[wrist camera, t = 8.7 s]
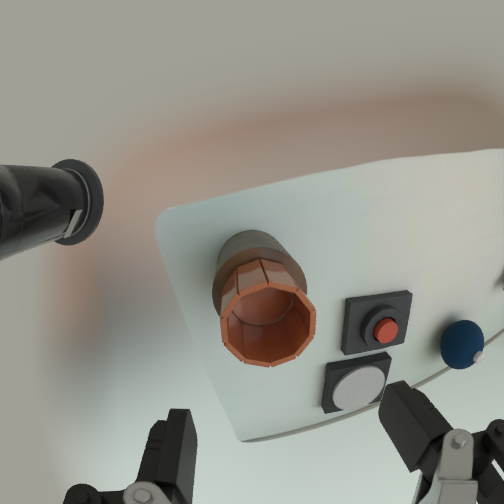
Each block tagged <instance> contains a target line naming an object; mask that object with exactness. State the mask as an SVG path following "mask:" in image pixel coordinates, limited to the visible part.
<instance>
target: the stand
mask: <svg viewBox="0 0 504 504" xmlns="http://www.w3.org/2000/svg"><path fill="white" fill-rule="evenodd" d="M261 259H263V260H266V261H270V262H274V263H278V264H282V265H283V266H285V267H286V269H287V270H288V271H289V272H290V274H291V275H292V276H293V277H294V279H295V280H296V281H297V282H298V284H299V285H300V287H301V288H302V290H303V291H304V293H305V294H306V295H307V284H306V279H305V276H304V273H303V271H302V269H301V268H300V266H299V265H298V264H297V262H296V261H295V260H294V259H293V258H292V257H291V256H290V254H289V253H288V252H287V251H286V250H285V249H284V248H283V247H282V245H281V244H280V243H279V242H278V241H277V240H276V239H275V238H274V237H272V236H271V235H269V234H267V233H265V232H262V231H256V230H249V231H244V232H240V233H238V234H236V235H234V236H233V237H231V238H230V239H229V240H228V241H227V242H226V243H225V244H224V246H223V248H222V249H221V252H220V254H219V258H218V263H217V268H216V273H215V278H214V283H213V289H212V298H213V303H214V306H215V309H216V311H217V313H218V315H219V316H220V313H221V302H222V292H223V287H224V285H225V283H226V282H227V280H228V279H229V277H230V276H231V274H232V273H233V271H234V270H235V269H236V270H237V267H239V266H242V265H245V264H247V263H250V262H252V261H255V260H259V262H260V260H261ZM292 305H293V298H292V302H291V305H290V307H289V309H290V308H291V306H292ZM289 309H288V310H289ZM232 312H233V311H232ZM287 312H288V311H287ZM287 312H286V313H287ZM233 313H234V312H233ZM286 313H285V314H286ZM285 314H284V315H283V316H282V317H281V318H280V319H278V320H277V321H280V320H282V318H283V317H284V316H285ZM235 316H236V315H235ZM236 317H237V316H236ZM237 318H238V317H237ZM238 319H239V318H238ZM239 320H240V321H241V322H242V323H245V324H249V323H246V322H244V321H242V320H241V319H239ZM277 321H275V322H277ZM275 322H273V323H275ZM270 324H272V323H270ZM250 325H252V324H250ZM267 325H269V324H267ZM267 325H254V326H259V327H264V326H267Z"/></svg>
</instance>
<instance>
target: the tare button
mask: <svg viewBox="0 0 504 504" xmlns="http://www.w3.org/2000/svg"><path fill="white" fill-rule="evenodd" d="M397 332H398V326H397V324H396V323H395V322H394V321H393V320H391V319H390V318H384V319H382V320H380V321H379V322H378V323H377V324H376V326H375V328H374V336H375V337H376V338H377V339H378V341H379V342H381V343H388V342H390V341H392V340H393V339H394V338H395V336H396V335H397Z"/></svg>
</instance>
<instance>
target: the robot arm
mask: <svg viewBox="0 0 504 504" xmlns="http://www.w3.org/2000/svg"><path fill="white" fill-rule="evenodd" d="M91 209H92V194H91V189H90V186H89V184H88V182H87V180H86V178H85V177H84V176H83V175H82V174H81V173H80V172H79V171H77V170H74V169H70V168H50V167H36V166H18V165H17V166H16V165H0V261H1V260H4V259H6V258H8V257H11V256H13V255H16V254H19V253H21V252H24V251H26V250H29V249H32V248H35V247H38V246H41V245H43V244H46V243H49V242H52V241H55V240H58V239H61V238H63V239H64V238H67V237H70V236H73V235H75V234H77V233H78V232H80V231H81V230H82V229H83V228H84V226H85V225H86V223H87V221H88V219H89V217H90V214H91ZM378 414H379V419H380V422H381V423H382V425H383V427H384V429H385V430H386V432H387V433H388V435H389V437H390V438H391V440H392V442H393V444H394V445H395V447H396V449H397V451H398V452H399V454H400V456H401V457H402V459H403V461H404V463H405V464H406V466H407V468H408V470H409V471H410V473H411V472H413V471H415V470H418V469H420V470H421V474H420V476H419V480H418V483H417V487H416V491H415V494H414V497H413V501H412V504H476V501H477V502H478V504H504V481H503V479H502V478H501V476H500V475H499V473H498V472H497V470H496V469H495V468H494V466H493V465H492V461H493V460H494V459H495V461H496V462H497V463H498V465H499V466H500V467H501V469H502V470H503V472H504V420H502V419H497V420H494V421H492V422H491V423H490V424H489V425H488V427H487V429H486V430H484V431H480V432H477V433H472V434H470V433H469V432H468V431H466V430H463V429H453V428H452V427H451V425H450V424H449V423H448V422H447V420H446V419H445V418H444V417H443V416H442V415H441V413H440V412H439V411H438V410H437V409H436V408H435V407H434V405H433V404H432V403H431V402H430V400H429V399H428V398H427V397H426V395H425V394H424V393H422V392H420V391H419V390H417V389H415V388H413V389H411V388H410V387H409V385H408V384H407V383H406V382H405V381H403V380H402V381H398V382H395V383H391V384H388V385H386V387H385V390H384V393H383V397H382V400H381V404H380V407H379V412H378ZM145 447H146V449H145V450H144V454H143V457H142V461H141V465H140V469H139V472H138V476H137V479H136V481H135V482H134V483H133V484H131V485H129V486H128V487H127V488H126V489H124V490H121V491H108V492H107V491H106V492H98V491H97V490H96V489H95V488H94V487H92V486H90V485H87V484H77V485H74V486H72V487H71V488H70V489H69V490H68V491H67V493H66V496H65V499H64V502H63V504H192V497H193V485H194V475H195V474H194V473H195V464H196V454H197V433H196V429H195V426H194V422H193V419H192V415H191V412H190V409H170V411H169V414H168V418H167V421H165V420H158V421H157V422H156V423H155V424H154V425H153V427H152V428H151V429H150V432H149V436H148V441H147V443H146V446H145Z"/></svg>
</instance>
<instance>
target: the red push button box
mask: <svg viewBox="0 0 504 504" xmlns="http://www.w3.org/2000/svg"><path fill="white" fill-rule="evenodd" d="M412 295H413V294H412V293H410V292H409V291H407V290H405V291H399V292H392V293H385V294H378V295H371V296H363V297H355V298H347V299H346V306H345V318H344V328H343V338H342V347H341V350H342V352H343V353H344V355H350V354H356V353H361V352H366V351H371V350H378V349H382V348H386V347H389V346H394V345H398V344H402V343H404V340H405V335H406V330H407V325H408V319H409V314H410V308H411V301H412ZM384 318H390V319H391V320H393V321H394V322H395V323H396V324H397V326H398V332H397V335H396V336H395V338H394V339H393V340H392V341H390V342H388V343H381V342H379V341H378V339H377V338H376V337H375V336H374V328H375V326H376V324H377V323H378V322H379V321H380V320H382V319H384Z"/></svg>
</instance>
